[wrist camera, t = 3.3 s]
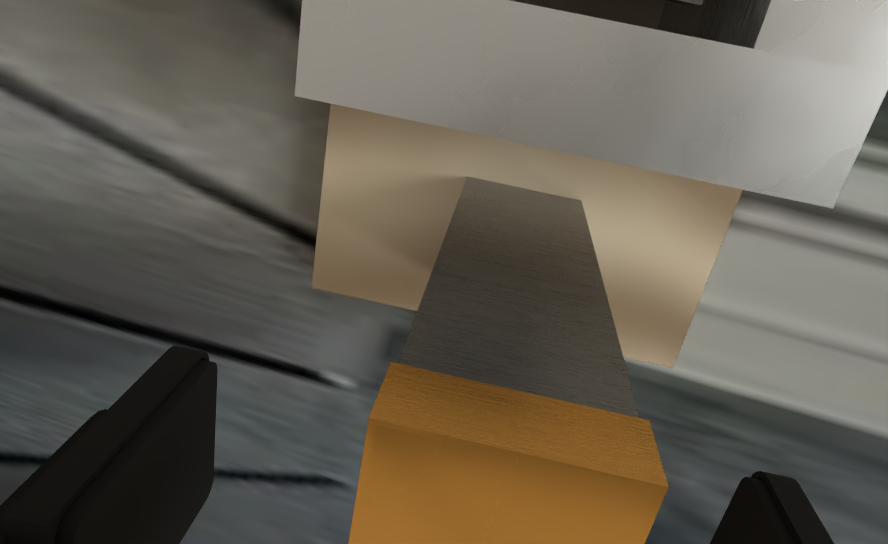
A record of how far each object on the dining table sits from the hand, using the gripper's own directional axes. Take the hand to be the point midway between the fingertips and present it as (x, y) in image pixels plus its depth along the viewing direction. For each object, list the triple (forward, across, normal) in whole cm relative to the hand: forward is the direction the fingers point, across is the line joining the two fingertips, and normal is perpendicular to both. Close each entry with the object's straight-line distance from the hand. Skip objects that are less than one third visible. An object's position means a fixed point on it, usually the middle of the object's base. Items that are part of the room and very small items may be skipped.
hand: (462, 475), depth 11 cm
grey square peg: (+12, -1, 0) cm, 12 cm away
